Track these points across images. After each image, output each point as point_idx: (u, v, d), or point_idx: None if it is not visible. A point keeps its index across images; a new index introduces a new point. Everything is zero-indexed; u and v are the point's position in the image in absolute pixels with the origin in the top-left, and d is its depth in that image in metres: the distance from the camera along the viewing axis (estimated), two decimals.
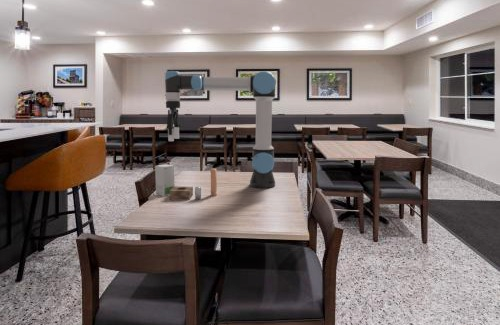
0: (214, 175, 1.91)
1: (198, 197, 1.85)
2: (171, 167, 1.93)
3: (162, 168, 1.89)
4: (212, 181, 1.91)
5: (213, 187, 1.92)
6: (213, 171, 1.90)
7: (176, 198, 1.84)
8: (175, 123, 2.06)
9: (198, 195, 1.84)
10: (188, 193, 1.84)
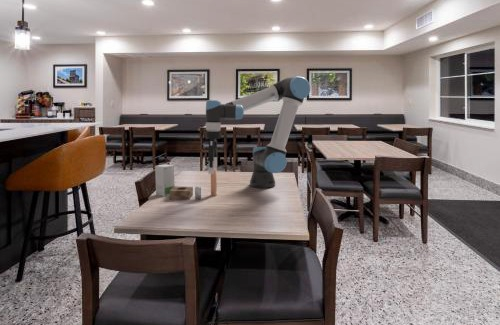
0: (214, 175, 1.91)
1: (198, 197, 1.85)
2: (171, 167, 1.93)
3: (162, 168, 1.89)
4: (212, 181, 1.91)
5: (213, 187, 1.92)
6: None
7: (176, 198, 1.84)
8: (213, 153, 1.96)
9: (198, 195, 1.84)
10: (188, 193, 1.84)
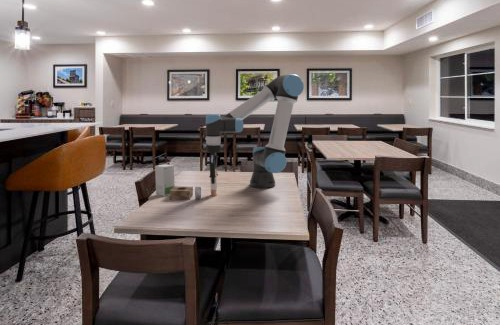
0: None
1: (198, 197, 1.85)
2: (171, 167, 1.93)
3: (162, 168, 1.89)
4: None
5: None
6: None
7: (176, 198, 1.84)
8: None
9: (198, 195, 1.84)
10: (188, 193, 1.84)
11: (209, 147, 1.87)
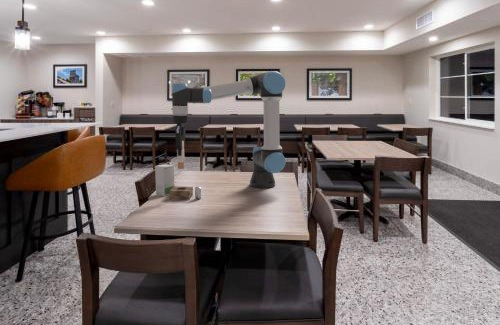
0: None
1: (198, 197, 1.85)
2: (171, 167, 1.93)
3: (162, 168, 1.89)
4: None
5: None
6: None
7: (176, 198, 1.84)
8: None
9: (198, 195, 1.84)
10: (188, 193, 1.84)
11: (175, 117, 1.80)
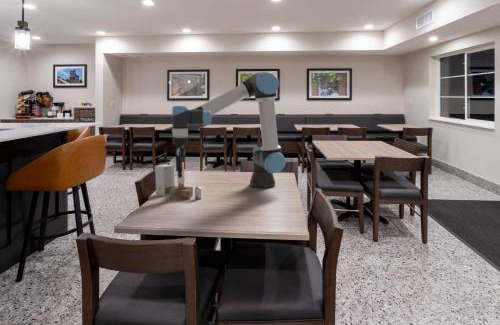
0: None
1: (198, 197, 1.85)
2: (171, 167, 1.93)
3: (162, 168, 1.89)
4: None
5: None
6: None
7: (176, 198, 1.84)
8: None
9: (198, 195, 1.84)
10: (188, 193, 1.84)
11: (175, 139, 1.81)
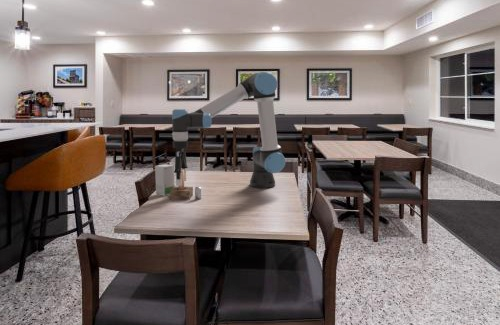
0: None
1: (198, 197, 1.85)
2: (171, 167, 1.93)
3: (162, 168, 1.89)
4: None
5: (180, 189, 1.87)
6: None
7: (176, 198, 1.84)
8: (182, 164, 1.91)
9: (198, 195, 1.84)
10: (188, 193, 1.84)
11: (175, 143, 1.82)
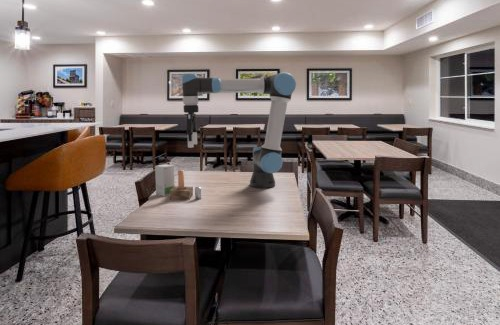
0: (181, 177, 1.86)
1: (198, 197, 1.85)
2: (171, 167, 1.93)
3: (162, 168, 1.89)
4: (179, 183, 1.87)
5: (180, 189, 1.87)
6: (180, 172, 1.86)
7: (176, 198, 1.84)
8: (193, 128, 1.96)
9: (198, 195, 1.84)
10: (188, 193, 1.84)
11: (186, 107, 1.85)
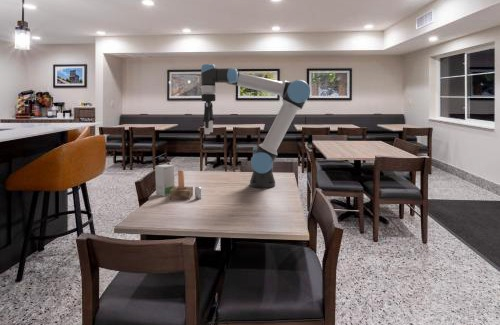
0: (181, 177, 1.86)
1: (198, 197, 1.85)
2: (171, 167, 1.93)
3: (162, 168, 1.89)
4: (179, 183, 1.87)
5: (180, 189, 1.87)
6: (180, 172, 1.86)
7: (176, 198, 1.84)
8: (209, 116, 2.06)
9: (198, 195, 1.84)
10: (188, 193, 1.84)
11: (204, 96, 1.95)
